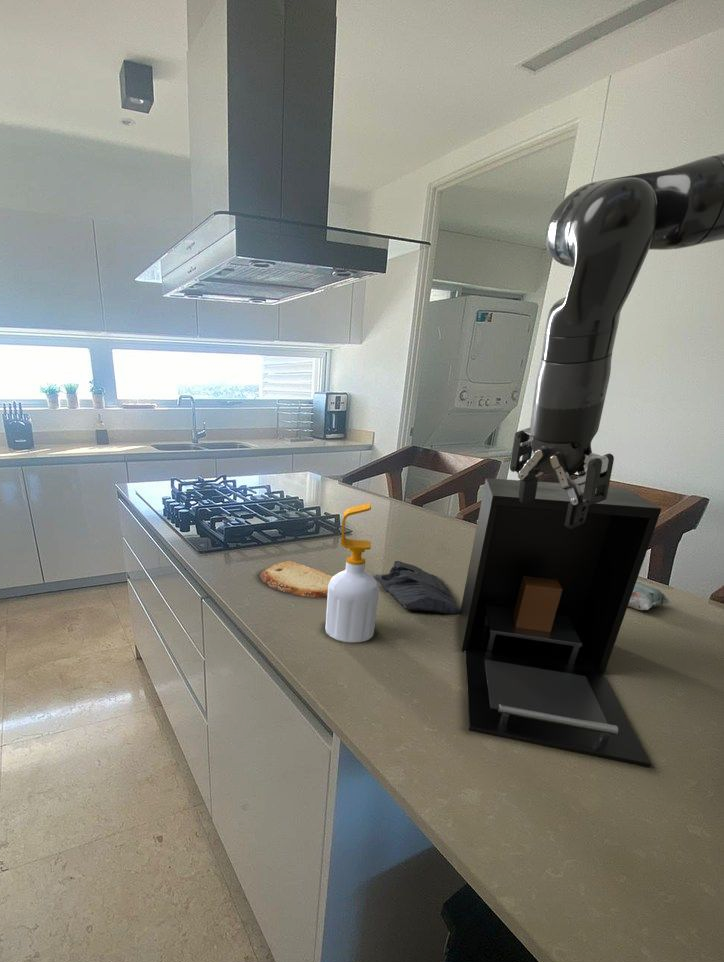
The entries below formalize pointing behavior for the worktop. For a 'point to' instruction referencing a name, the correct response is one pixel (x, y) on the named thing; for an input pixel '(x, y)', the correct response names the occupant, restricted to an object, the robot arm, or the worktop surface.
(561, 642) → the rack
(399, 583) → the dark grey crumpled cloth
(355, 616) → the soap bottle
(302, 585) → the slice of bread
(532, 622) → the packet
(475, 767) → the worktop surface
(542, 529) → the oven
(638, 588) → the packaged food
